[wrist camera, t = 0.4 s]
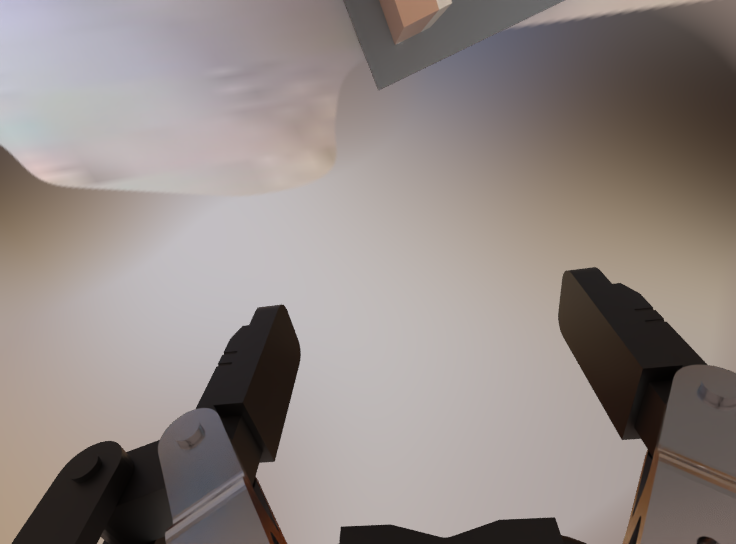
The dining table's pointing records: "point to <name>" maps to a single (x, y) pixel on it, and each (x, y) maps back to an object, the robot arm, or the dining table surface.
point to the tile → (411, 16)
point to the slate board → (433, 33)
